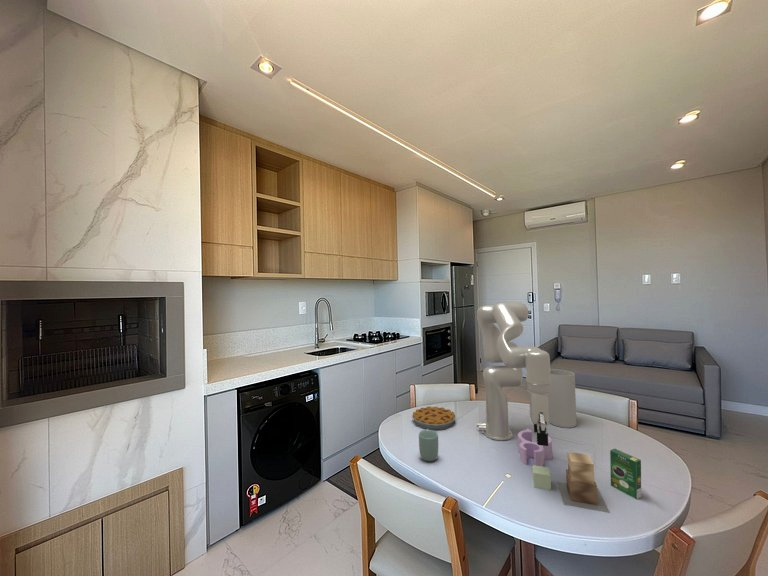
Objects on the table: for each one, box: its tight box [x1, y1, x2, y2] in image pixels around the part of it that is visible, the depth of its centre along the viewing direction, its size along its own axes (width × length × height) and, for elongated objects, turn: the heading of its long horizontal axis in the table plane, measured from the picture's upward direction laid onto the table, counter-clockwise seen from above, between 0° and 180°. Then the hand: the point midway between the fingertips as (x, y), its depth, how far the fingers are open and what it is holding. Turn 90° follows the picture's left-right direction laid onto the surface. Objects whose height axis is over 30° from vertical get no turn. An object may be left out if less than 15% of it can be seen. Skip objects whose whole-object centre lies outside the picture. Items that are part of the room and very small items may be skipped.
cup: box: [418, 429, 439, 462], centre depth 126 cm, size 8×8×10 cm
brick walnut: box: [565, 468, 598, 506], centre depth 99 cm, size 7×7×6 cm
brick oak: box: [566, 451, 596, 484], centre depth 99 cm, size 6×6×6 cm
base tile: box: [556, 481, 611, 514], centre depth 99 cm, size 12×12×1 cm
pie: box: [411, 406, 456, 431], centre depth 162 cm, size 22×22×5 cm
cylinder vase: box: [548, 369, 577, 429], centre depth 156 cm, size 12×12×25 cm
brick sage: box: [531, 464, 552, 491], centre depth 106 cm, size 5×5×6 cm
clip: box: [517, 428, 553, 467], centre depth 125 cm, size 20×12×7 cm, turn 148°
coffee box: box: [609, 448, 642, 500], centre depth 101 cm, size 8×3×13 cm, turn 22°
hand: (540, 438), depth 106 cm, fingers open, 9 cm apart
